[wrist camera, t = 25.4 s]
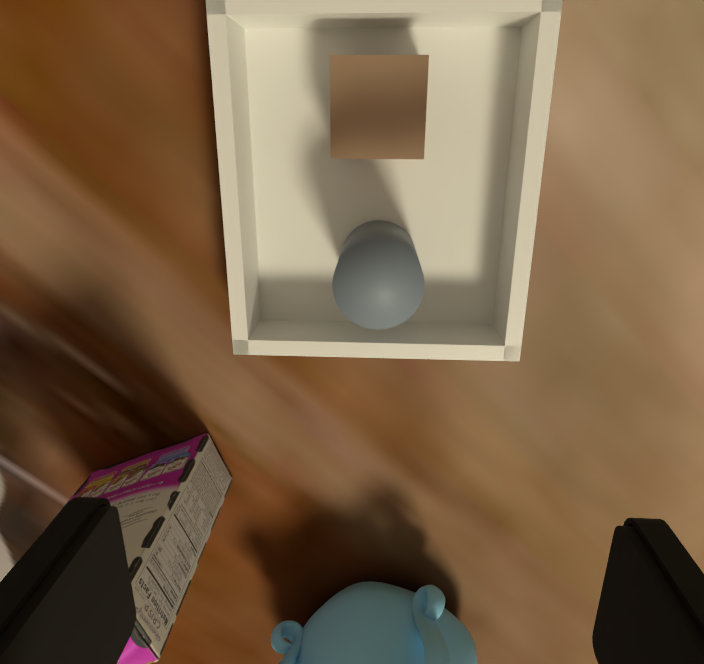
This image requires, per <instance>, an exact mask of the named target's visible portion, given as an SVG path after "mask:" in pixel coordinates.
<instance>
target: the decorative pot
mask: <svg viewBox="0 0 704 664" xmlns="http://www.w3.org/2000/svg"><path fill="white" fill-rule="evenodd" d="M444 606H445V596H444V594H443V592H442V591H441V590H440V589H439V588H437V587H436V586H434V585H425V586H423V587H421V588H419V589H418V590H417V592H416V593H415V592H412V591H410V590H407V589H404V588H401V587H398V586H394V585H391V584H387V583H382V582H374V581H366V582H360V583H356V584H353V585H351V586H348V587H346V588H345V589H343V590H342V591H340V592H338V593H337V594H335V595H334V596H333V597H332V598H330V599H329V600H328V601H327V602H326V603H325V604H324V605H323V606H321V607H320V608H319V609H318V610H317V611H316V612H315V613H314V614H313V615H312V617H311V618H310V619H309V620H308V621H307V623H306V624H305V626H304V627H302V626H301V624H299V623H298V622H296V621H292V620H287V621H282V622H280V623H279V624H278V625H276V627H275V628H274V630H273V632H272V634H271V645H272V647H273V649H274V650H275V651H276V652H278V653H280V654H285V656H284V657H283V659H282V660H281V661H280V663H279V664H478V662H477V655H476V648H475V644H474V641H473V639H472V637H471V635H470V633H469V631H468V630H467V628H466V627H465V626H464V625H463V624H462V623H461V622H460V621H459V620H458V619H457V618H456V617H455V616H454V615H453V614H452V613H451V612H449V611H448V610H447V609H446V608H444ZM283 638H287V639H289V640H290V641H291V643H290V642H287V641H285V640H284V639H283Z"/></svg>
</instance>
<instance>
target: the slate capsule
mask: <svg viewBox="0 0 704 664" xmlns="http://www.w3.org/2000/svg"><path fill="white" fill-rule="evenodd" d="M332 288H333V295H334V298H335V301H336V304H337V305H338V307H339V309H340V310H341V312H342V313H343V314H344V315H345V316H346V317H347V318H348V319H349V320H350V321H352V322H354V323H355V324H357V325H359V326H362V327H365V328H369V329H376V330H379V329H388V328H392V327H395V326H397V325H400V324H401V323H403V322H405V321H406V320H407V319H409V318H410V317H411V316H412V315H413V314H414V313H415V311H416V310H417V309H418V307H419V305H420V303H421V301H422V298H423V294H424V288H425V281H424V275H423V271H422V268H421V265H420V262H419V259H418V256H417V252H416V249H415V246H414V243H413V241H412V239H411V238H410V236H409V235H408V234H407V232H406V231H405V230H404V229H402V228H401V227H400V226H398V225H396V224H394V223H391V222H388V221H382V220H375V221H369V222H366V223H364V224H361V225H360V226H358V227H356V228H355V229H354V230H353V231H352V232H351V233H350V234H349V235H348V237H347V238H346V240H345V242H344V244H343V247H342V250H341V253H340V256H339V259H338V262H337V265H336V268H335V272H334V275H333V282H332Z"/></svg>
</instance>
